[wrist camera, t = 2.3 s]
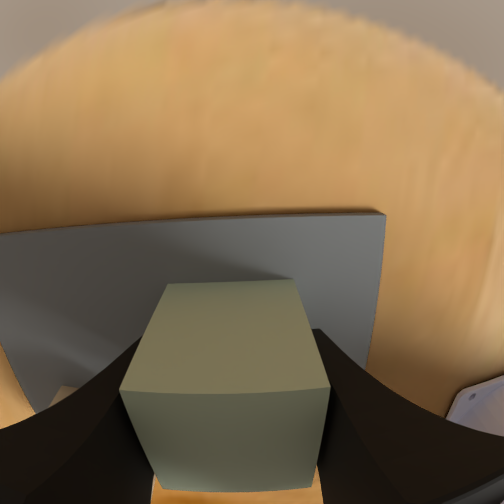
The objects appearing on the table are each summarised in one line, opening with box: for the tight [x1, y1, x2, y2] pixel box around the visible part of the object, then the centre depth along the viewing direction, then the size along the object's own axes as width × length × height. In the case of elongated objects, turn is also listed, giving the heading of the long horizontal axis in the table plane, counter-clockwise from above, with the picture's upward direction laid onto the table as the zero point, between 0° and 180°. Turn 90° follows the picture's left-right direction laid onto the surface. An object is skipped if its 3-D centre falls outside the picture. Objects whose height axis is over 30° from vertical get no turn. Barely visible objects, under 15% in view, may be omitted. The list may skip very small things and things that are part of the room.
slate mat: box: [0, 213, 386, 414], centre depth 12 cm, size 16×12×1 cm
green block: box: [119, 279, 331, 492], centre depth 8 cm, size 4×4×5 cm
